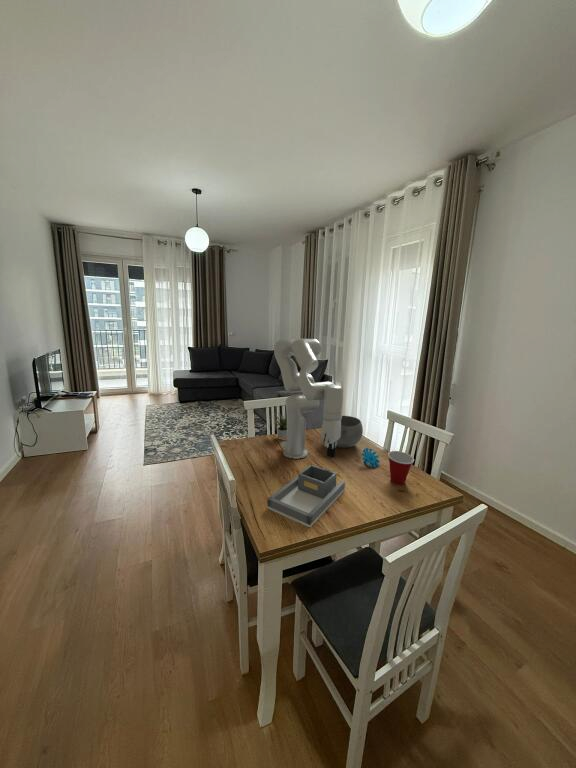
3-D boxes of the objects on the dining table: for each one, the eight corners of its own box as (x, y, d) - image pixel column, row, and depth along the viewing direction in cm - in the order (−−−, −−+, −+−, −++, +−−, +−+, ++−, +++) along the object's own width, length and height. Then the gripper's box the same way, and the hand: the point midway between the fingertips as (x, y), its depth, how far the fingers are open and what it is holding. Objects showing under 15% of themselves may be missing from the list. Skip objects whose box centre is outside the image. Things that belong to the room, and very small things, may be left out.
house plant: (264, 440, 174) (264, 413, 170) (274, 432, 186) (274, 406, 183) (287, 445, 169) (288, 416, 165) (296, 436, 181) (297, 410, 178)
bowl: (342, 435, 184) (344, 412, 181) (369, 447, 167) (371, 421, 164) (316, 442, 172) (317, 417, 169) (341, 456, 156) (343, 428, 153)
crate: (297, 489, 123) (297, 474, 122) (310, 478, 131) (311, 464, 130) (323, 499, 116) (324, 484, 115) (335, 488, 125) (336, 473, 123)
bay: (267, 508, 112) (267, 498, 111) (306, 477, 135) (307, 468, 134) (309, 527, 102) (310, 517, 101) (344, 490, 125) (345, 481, 124)
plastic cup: (405, 491, 126) (408, 464, 123) (380, 481, 133) (383, 455, 131) (415, 481, 133) (418, 456, 131) (392, 472, 141) (394, 448, 138)
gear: (368, 467, 141) (360, 447, 146) (360, 472, 145) (353, 452, 150) (385, 465, 147) (376, 446, 152) (377, 470, 151) (369, 451, 156)
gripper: (332, 409, 134) (330, 448, 138) (315, 417, 122) (314, 460, 126) (348, 412, 130) (346, 452, 134) (332, 421, 118) (331, 465, 122)
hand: (331, 456), depth 130 cm, fingers closed
